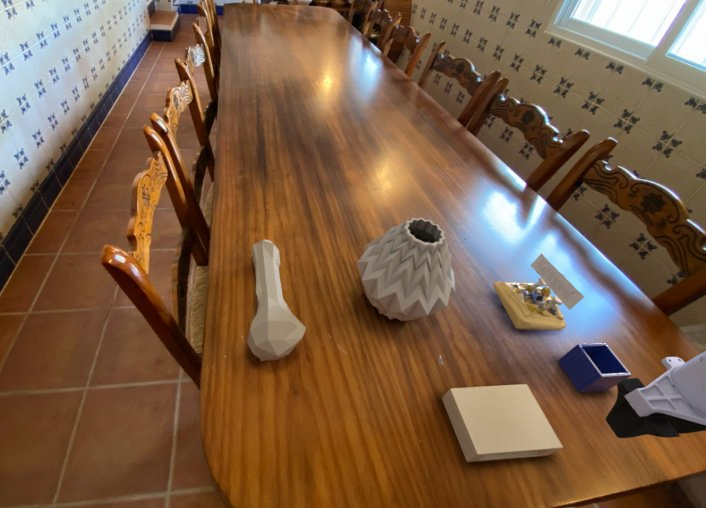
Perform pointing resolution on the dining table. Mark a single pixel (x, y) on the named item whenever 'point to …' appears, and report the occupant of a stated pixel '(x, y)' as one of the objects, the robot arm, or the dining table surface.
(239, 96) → the dining table surface
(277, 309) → the faceted club
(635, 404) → the robot arm
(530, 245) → the dining table surface
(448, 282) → the vase
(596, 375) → the box
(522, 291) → the cake
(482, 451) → the beige flat block
